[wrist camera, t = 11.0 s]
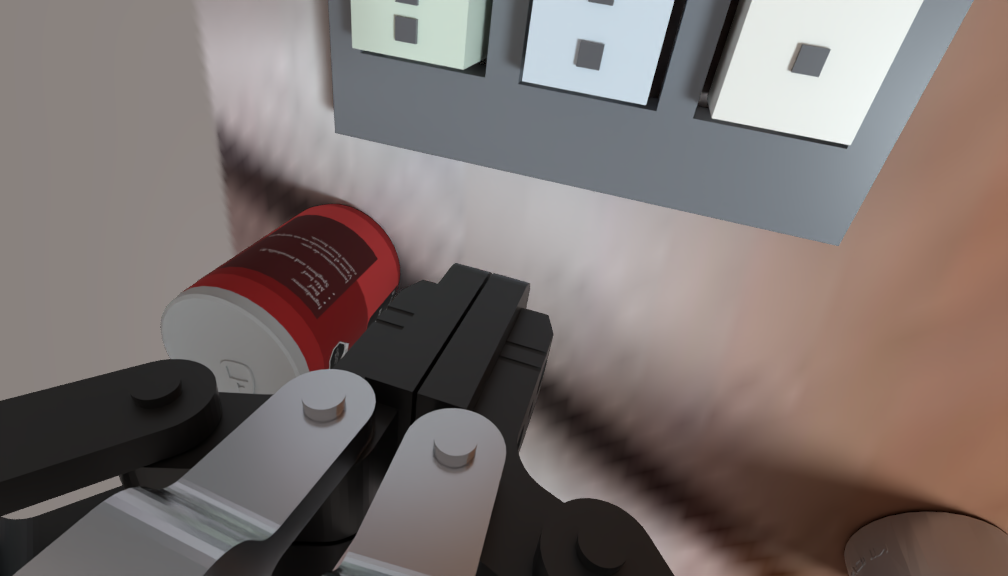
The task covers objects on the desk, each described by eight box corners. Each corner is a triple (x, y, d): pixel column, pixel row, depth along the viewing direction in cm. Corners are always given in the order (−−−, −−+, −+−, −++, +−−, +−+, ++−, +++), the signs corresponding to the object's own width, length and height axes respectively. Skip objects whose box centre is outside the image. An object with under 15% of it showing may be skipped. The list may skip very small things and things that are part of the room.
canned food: (325, 313, 37) (212, 427, 28) (275, 208, 33) (126, 299, 24) (421, 306, 34) (330, 430, 25) (378, 190, 30) (253, 286, 21)
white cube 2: (685, -46, 20) (687, -47, 17) (649, 87, 23) (645, 106, 20) (560, -64, 21) (541, -69, 18) (540, 66, 24) (520, 82, 21)
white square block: (891, -15, 19) (931, -11, 16) (827, 121, 22) (852, 147, 19) (751, -36, 20) (764, -35, 17) (706, 98, 23) (711, 119, 20)
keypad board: (1025, -164, 17) (1073, -182, 15) (824, 222, 25) (838, 246, 23) (350, -235, 21) (314, -256, 19) (359, 120, 28) (335, 132, 26)
